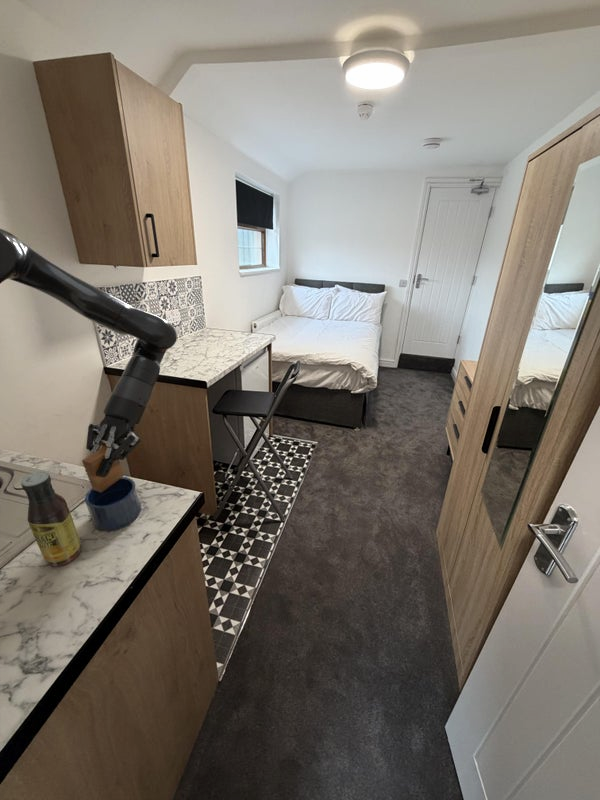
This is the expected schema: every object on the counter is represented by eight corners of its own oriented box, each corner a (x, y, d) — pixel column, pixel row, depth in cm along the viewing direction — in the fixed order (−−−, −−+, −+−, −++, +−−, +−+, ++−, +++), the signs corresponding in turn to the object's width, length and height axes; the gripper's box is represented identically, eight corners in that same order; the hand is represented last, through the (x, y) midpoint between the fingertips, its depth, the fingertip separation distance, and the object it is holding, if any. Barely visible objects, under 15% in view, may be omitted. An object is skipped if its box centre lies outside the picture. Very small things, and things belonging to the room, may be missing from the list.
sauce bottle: (38, 564, 64) (-1, 486, 56) (66, 539, 70) (34, 464, 61) (65, 572, 63) (30, 492, 54) (91, 546, 68) (62, 470, 60)
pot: (83, 529, 72) (74, 505, 69) (110, 498, 81) (103, 475, 78) (126, 533, 71) (118, 509, 68) (149, 500, 80) (143, 478, 77)
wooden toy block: (93, 489, 70) (81, 460, 67) (116, 472, 75) (106, 444, 72) (101, 492, 69) (90, 463, 66) (124, 475, 74) (115, 447, 71)
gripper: (93, 388, 73) (56, 463, 68) (141, 399, 68) (104, 481, 63) (119, 400, 79) (87, 469, 74) (164, 410, 75) (132, 485, 70)
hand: (95, 474), depth 69 cm, fingers closed on wooden toy block, 2 cm apart
